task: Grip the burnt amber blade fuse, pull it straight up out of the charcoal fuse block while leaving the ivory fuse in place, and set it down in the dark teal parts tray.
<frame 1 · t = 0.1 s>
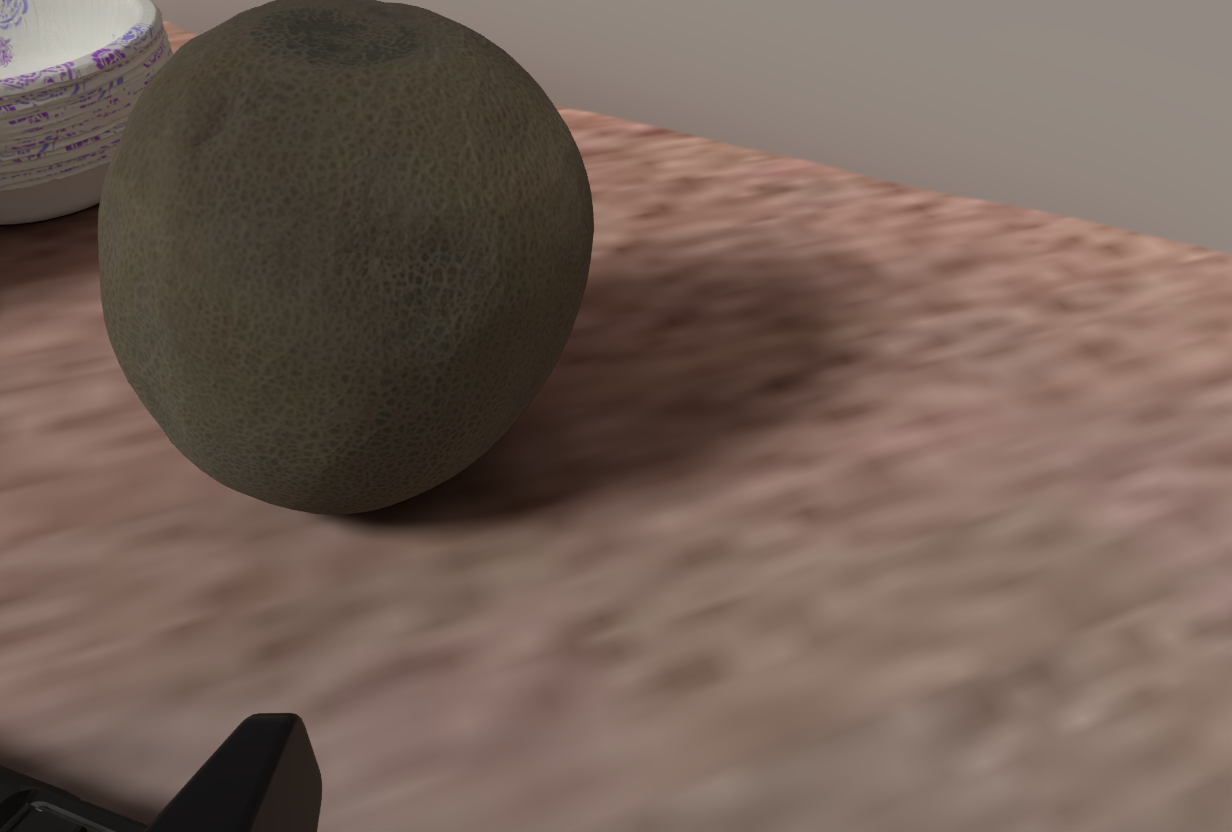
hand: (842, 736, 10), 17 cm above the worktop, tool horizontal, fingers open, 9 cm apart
cantaloupe: (396, 461, 40), on the worktop
paper bowls: (50, 187, 60), on the worktop
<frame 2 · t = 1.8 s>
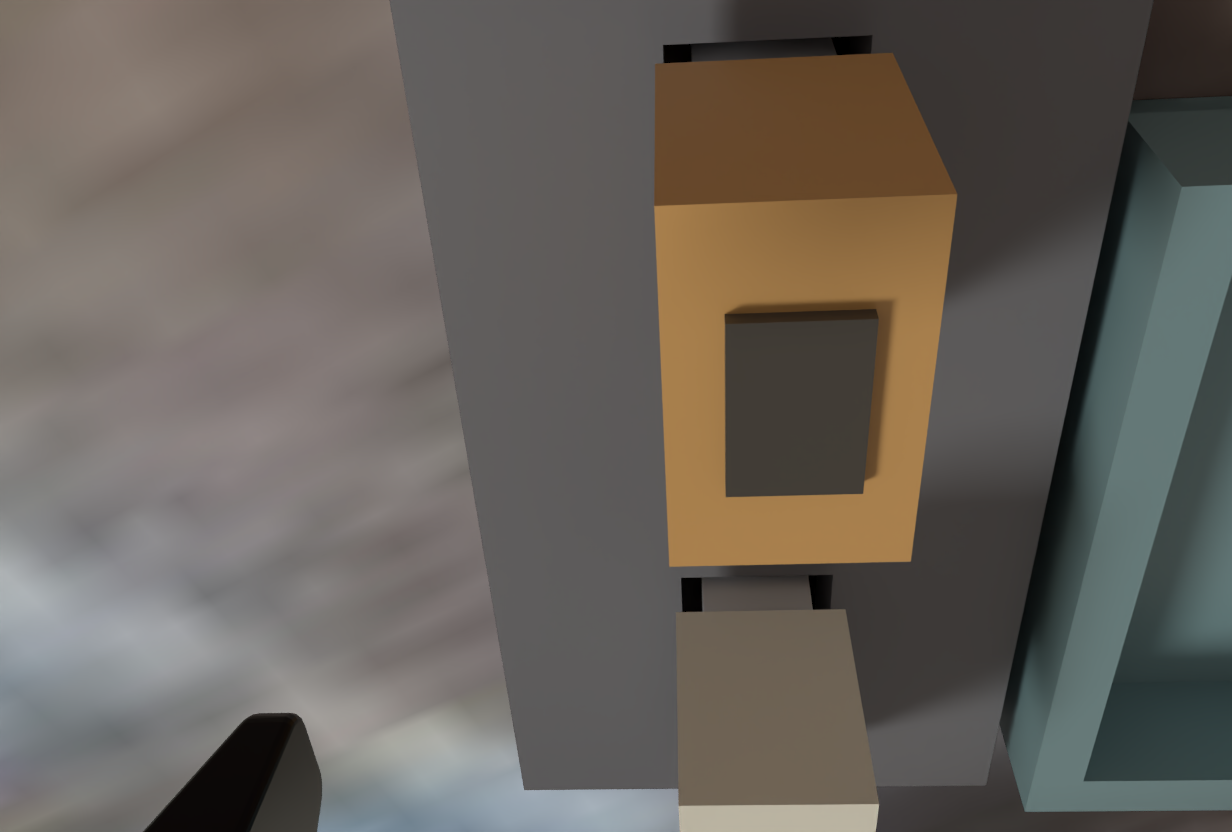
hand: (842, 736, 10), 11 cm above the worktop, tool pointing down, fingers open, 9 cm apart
fuse block: (751, 399, 22), on the worktop
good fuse: (748, 589, 25), resting in fuse block
blown fuse: (754, 145, 19), resting in fuse block
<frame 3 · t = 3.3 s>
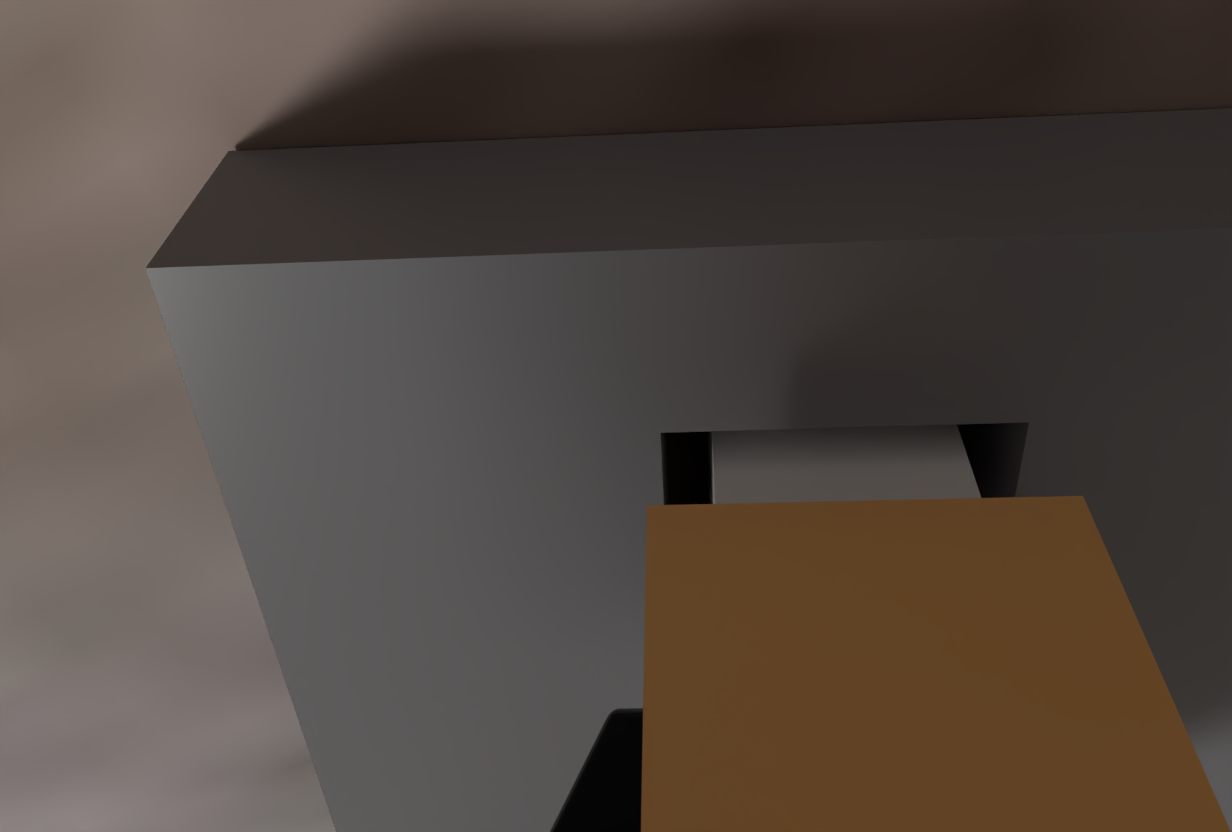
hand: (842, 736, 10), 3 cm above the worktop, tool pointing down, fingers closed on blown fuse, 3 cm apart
fuse block: (790, 793, 15), on the worktop
blown fuse: (806, 494, 12), resting in fuse block, touching gripper
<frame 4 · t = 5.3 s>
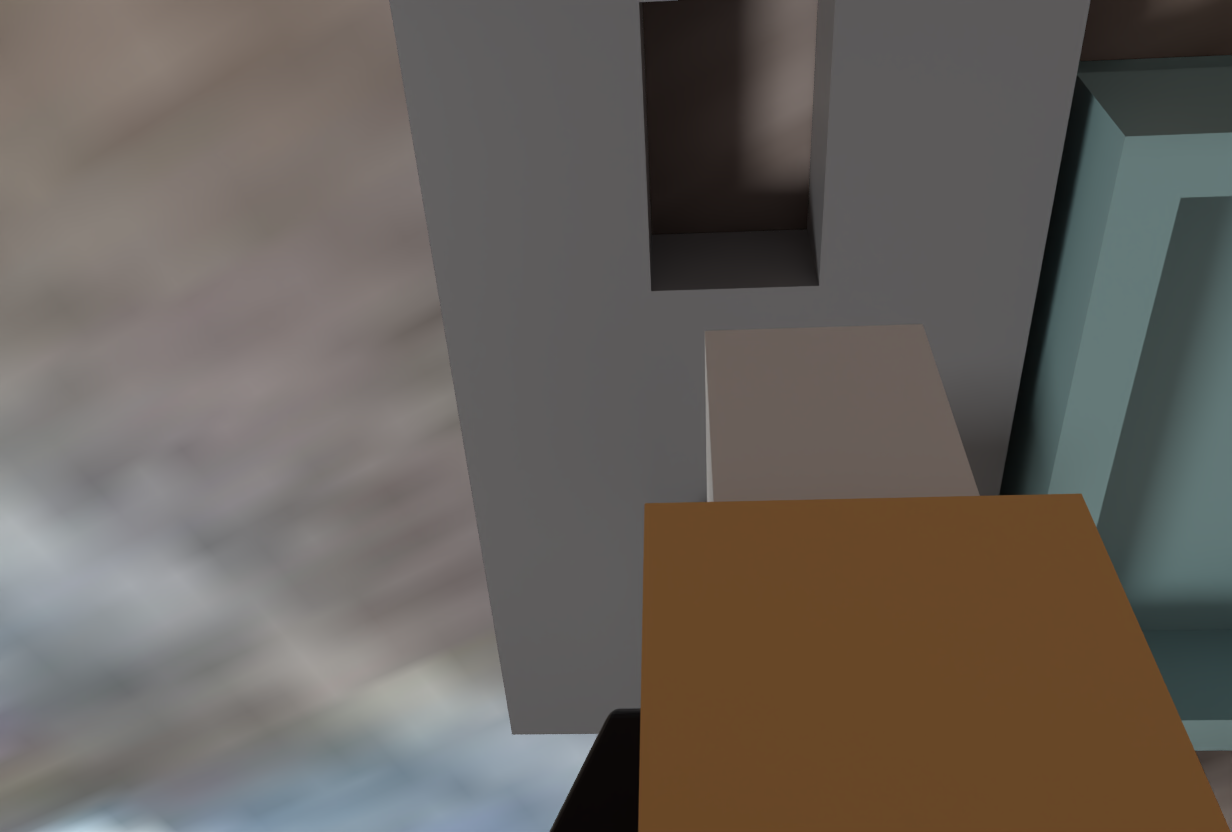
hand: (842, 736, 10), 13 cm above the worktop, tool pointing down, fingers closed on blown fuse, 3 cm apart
fuse block: (728, 351, 23), on the worktop
blown fuse: (804, 492, 12), point 10 cm above the worktop, touching gripper
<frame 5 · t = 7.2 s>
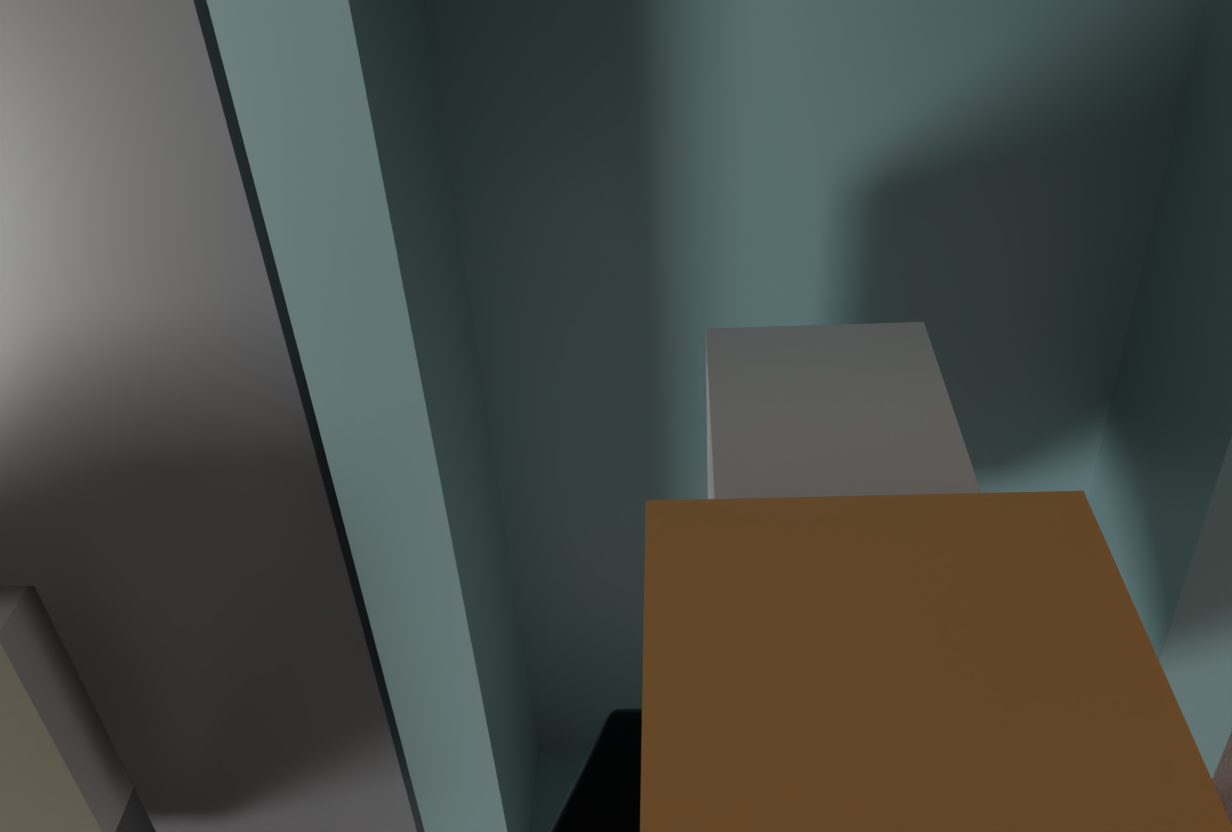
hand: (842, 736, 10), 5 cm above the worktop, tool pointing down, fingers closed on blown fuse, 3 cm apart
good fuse: (60, 606, 16), resting in fuse block
blown fuse: (805, 490, 12), point 2 cm above the worktop, touching gripper
parts tray: (790, 380, 14), on the worktop
when the fingers open (5 cm above the worktop, at t = 7.7 s): blown fuse drops 1 cm, resting on parts tray.
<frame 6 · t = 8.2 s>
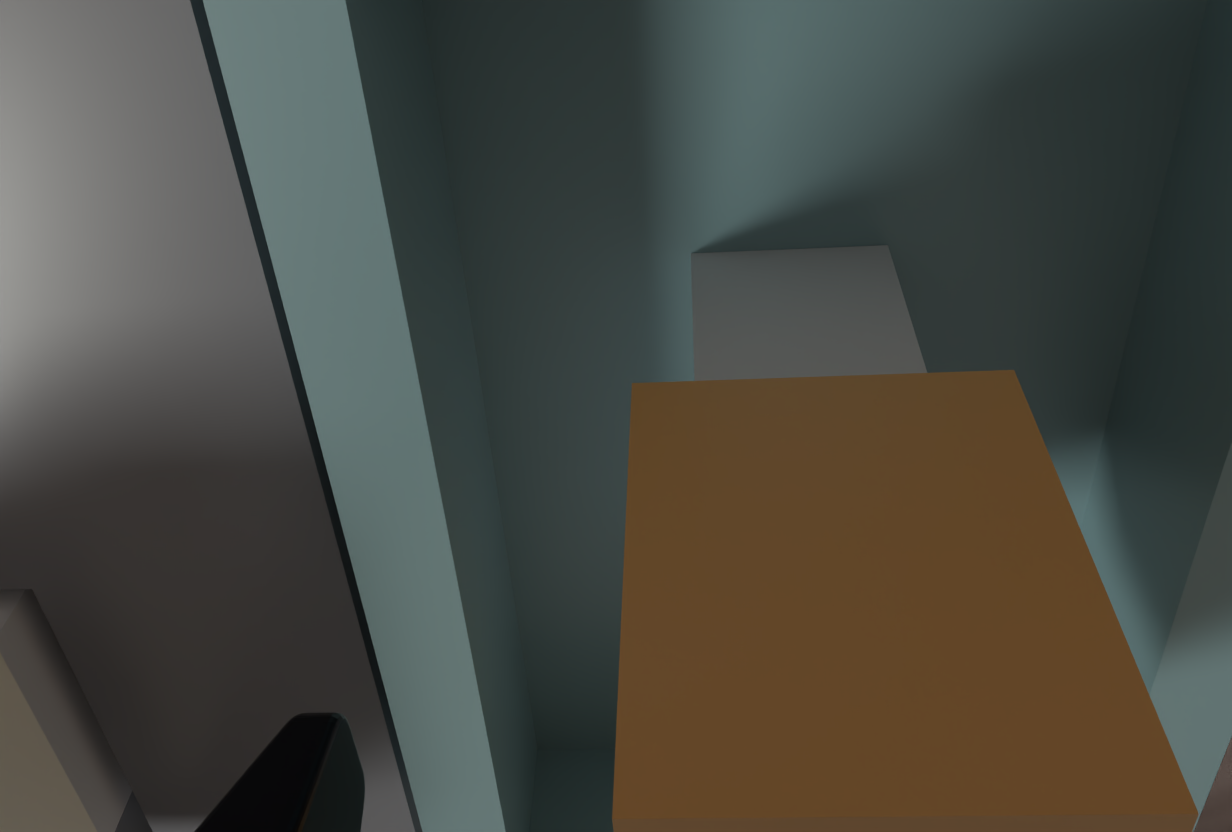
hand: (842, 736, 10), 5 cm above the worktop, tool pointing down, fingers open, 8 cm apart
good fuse: (58, 609, 16), resting in fuse block
blown fuse: (785, 406, 13), point 1 cm above the worktop, touching parts tray
parts tray: (790, 383, 14), on the worktop
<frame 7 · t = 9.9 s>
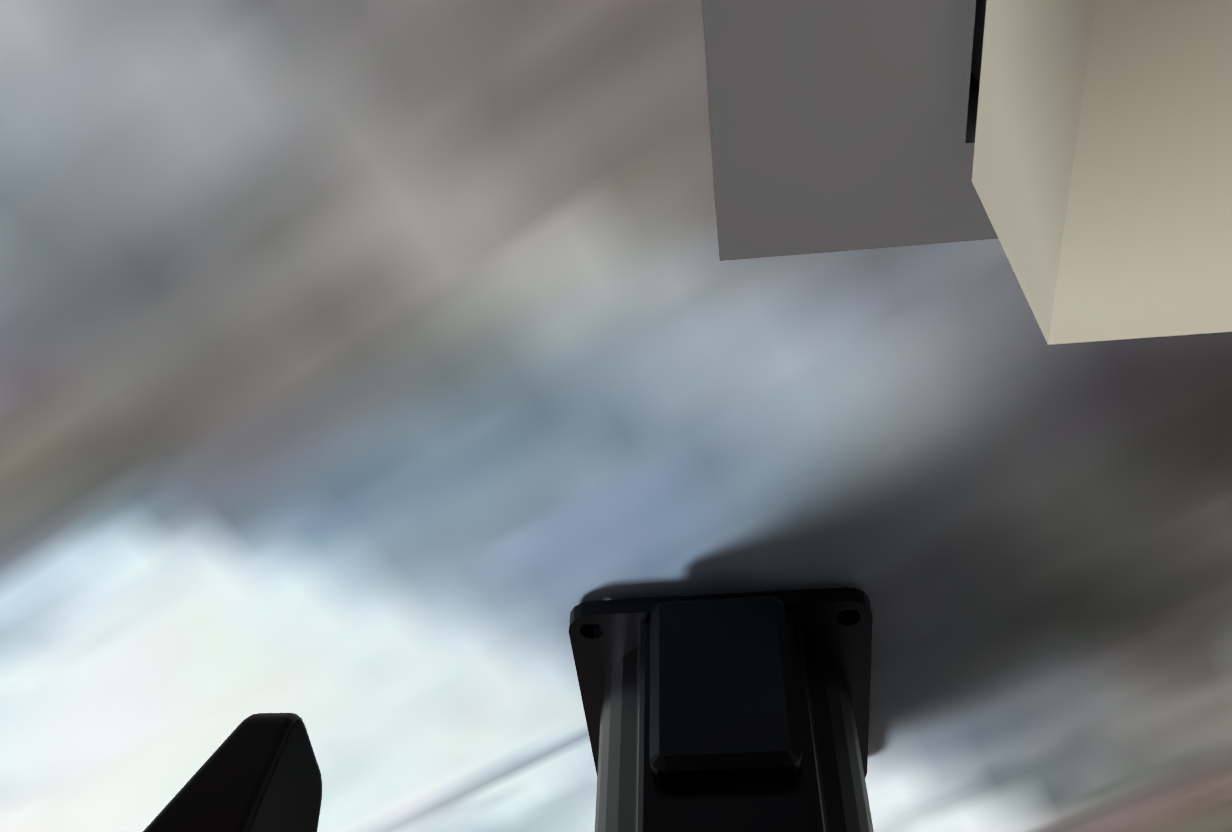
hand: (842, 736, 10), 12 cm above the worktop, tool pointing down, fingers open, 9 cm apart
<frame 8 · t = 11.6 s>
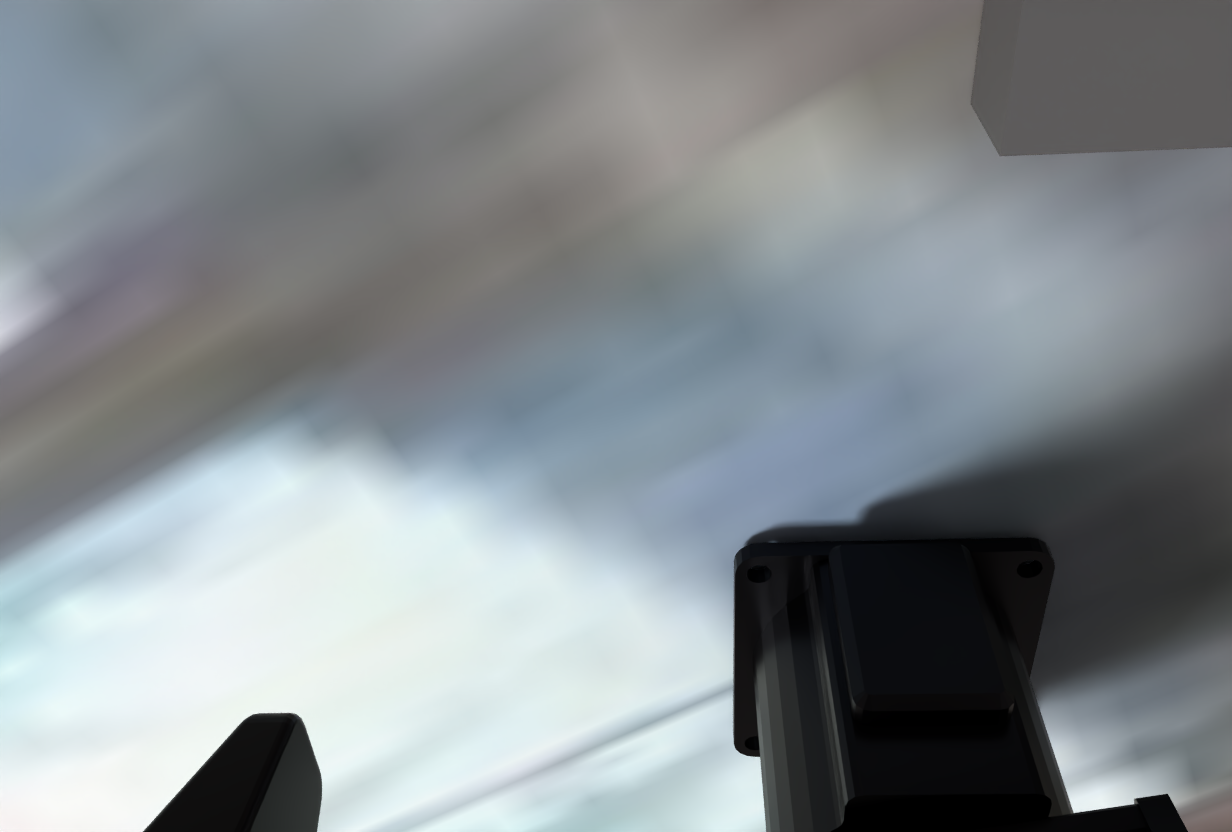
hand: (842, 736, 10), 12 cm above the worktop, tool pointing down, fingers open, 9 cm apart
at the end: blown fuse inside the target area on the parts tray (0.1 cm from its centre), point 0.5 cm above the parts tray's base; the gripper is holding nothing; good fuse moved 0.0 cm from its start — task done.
